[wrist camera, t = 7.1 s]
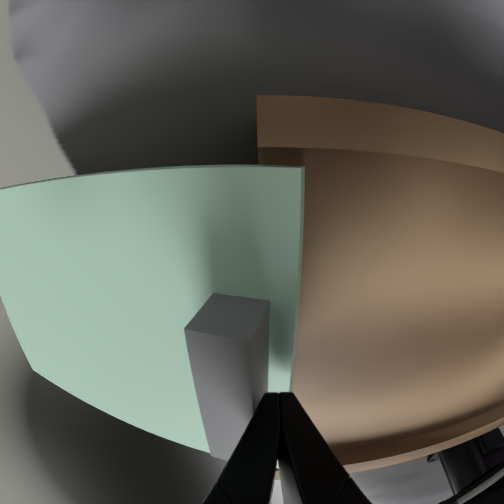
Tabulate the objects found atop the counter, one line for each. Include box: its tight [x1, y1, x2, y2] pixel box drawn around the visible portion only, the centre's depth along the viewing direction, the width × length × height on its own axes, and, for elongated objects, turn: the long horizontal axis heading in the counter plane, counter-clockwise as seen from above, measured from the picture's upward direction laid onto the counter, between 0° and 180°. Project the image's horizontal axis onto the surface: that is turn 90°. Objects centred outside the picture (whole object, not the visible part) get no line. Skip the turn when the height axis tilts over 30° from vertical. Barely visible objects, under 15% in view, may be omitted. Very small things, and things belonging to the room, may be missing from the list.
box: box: [256, 95, 504, 480], centre depth 11 cm, size 16×18×5 cm
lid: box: [0, 165, 305, 469], centre depth 11 cm, size 13×18×3 cm
